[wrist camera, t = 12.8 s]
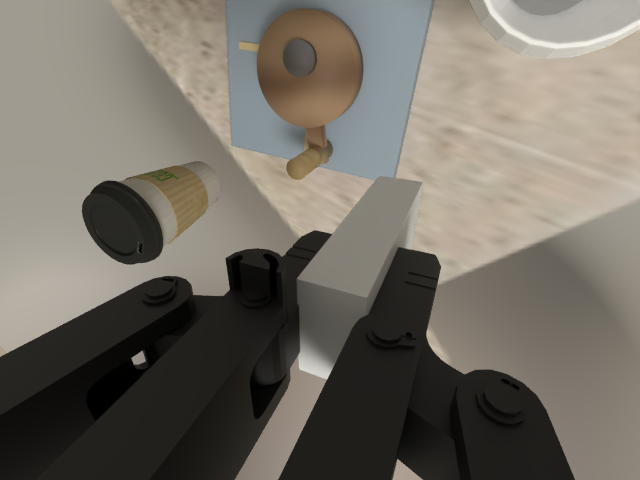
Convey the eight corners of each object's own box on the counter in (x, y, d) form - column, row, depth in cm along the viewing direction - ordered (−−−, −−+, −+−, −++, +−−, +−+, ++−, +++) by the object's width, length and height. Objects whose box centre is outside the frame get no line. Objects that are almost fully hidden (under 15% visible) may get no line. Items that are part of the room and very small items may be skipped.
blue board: (446, -53, 29) (441, -61, 26) (394, 179, 40) (388, 190, 37) (232, -64, 34) (211, -72, 32) (238, 142, 45) (222, 149, 42)
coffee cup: (178, 134, 48) (74, 169, 36) (240, 170, 47) (154, 218, 35) (170, 193, 54) (78, 240, 42) (224, 227, 53) (146, 284, 41)
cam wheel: (260, 20, 35) (216, 18, 30) (359, -1, 31) (330, -7, 26) (285, 159, 41) (252, 179, 36) (369, 157, 37) (348, 179, 32)
